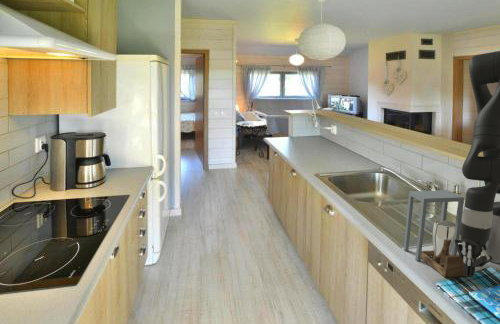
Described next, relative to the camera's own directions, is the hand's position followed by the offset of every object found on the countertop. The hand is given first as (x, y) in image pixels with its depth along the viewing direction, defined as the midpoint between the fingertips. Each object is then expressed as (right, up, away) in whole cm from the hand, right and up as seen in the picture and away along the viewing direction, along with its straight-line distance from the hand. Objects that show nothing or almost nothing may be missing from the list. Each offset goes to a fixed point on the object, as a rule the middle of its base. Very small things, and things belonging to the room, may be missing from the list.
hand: (468, 275), depth 103 cm
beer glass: (0, -1, +16) cm, 16 cm away
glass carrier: (0, -1, +13) cm, 13 cm away
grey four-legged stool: (0, 0, +22) cm, 22 cm away
